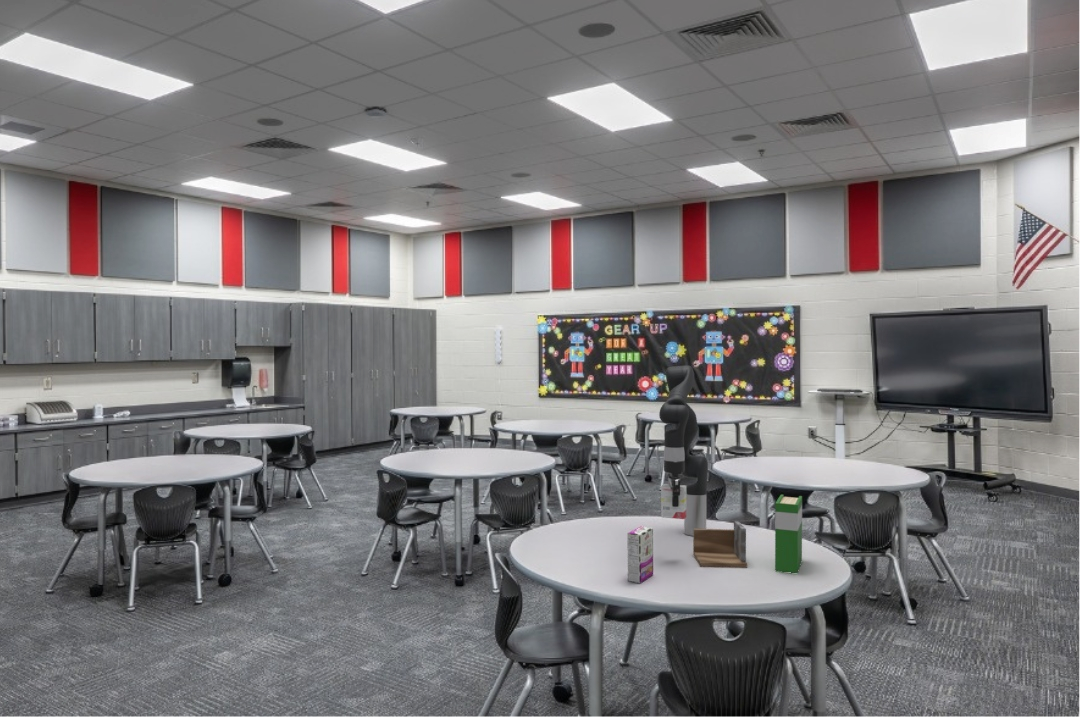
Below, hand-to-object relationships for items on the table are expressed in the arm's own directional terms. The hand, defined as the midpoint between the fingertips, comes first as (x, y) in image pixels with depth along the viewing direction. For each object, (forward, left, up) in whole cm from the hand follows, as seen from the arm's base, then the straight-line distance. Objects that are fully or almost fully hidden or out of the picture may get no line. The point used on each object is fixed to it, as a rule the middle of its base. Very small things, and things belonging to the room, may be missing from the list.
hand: (674, 504), depth 253 cm
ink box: (0, 0, -5) cm, 5 cm away
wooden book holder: (-2, +17, -21) cm, 27 cm away
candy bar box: (+20, -14, -21) cm, 32 cm away
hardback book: (+2, +41, -21) cm, 46 cm away
